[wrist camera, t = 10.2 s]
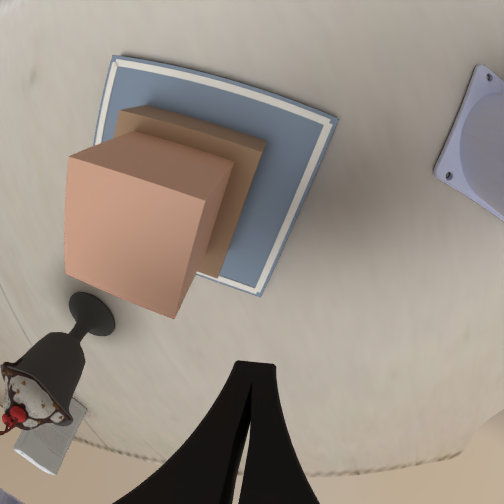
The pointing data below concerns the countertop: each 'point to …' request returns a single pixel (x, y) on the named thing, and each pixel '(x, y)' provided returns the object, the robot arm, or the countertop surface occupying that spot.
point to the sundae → (52, 369)
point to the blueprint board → (242, 118)
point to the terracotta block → (141, 217)
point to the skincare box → (50, 441)
